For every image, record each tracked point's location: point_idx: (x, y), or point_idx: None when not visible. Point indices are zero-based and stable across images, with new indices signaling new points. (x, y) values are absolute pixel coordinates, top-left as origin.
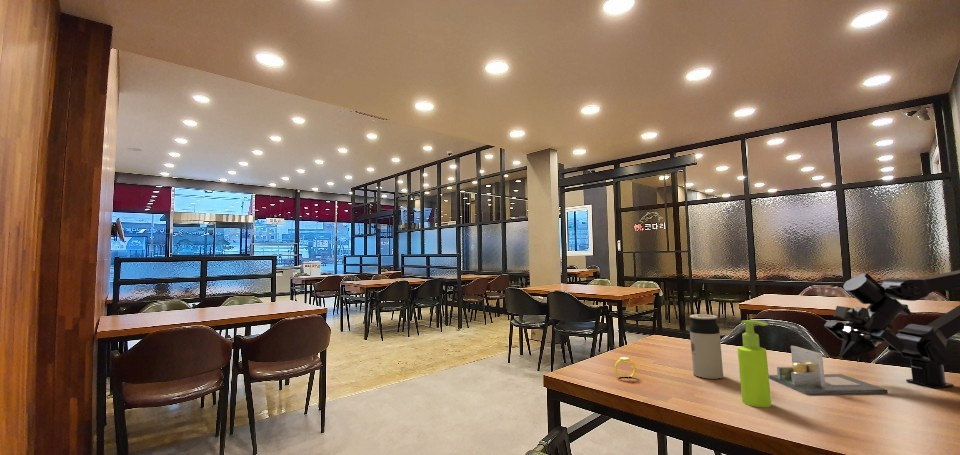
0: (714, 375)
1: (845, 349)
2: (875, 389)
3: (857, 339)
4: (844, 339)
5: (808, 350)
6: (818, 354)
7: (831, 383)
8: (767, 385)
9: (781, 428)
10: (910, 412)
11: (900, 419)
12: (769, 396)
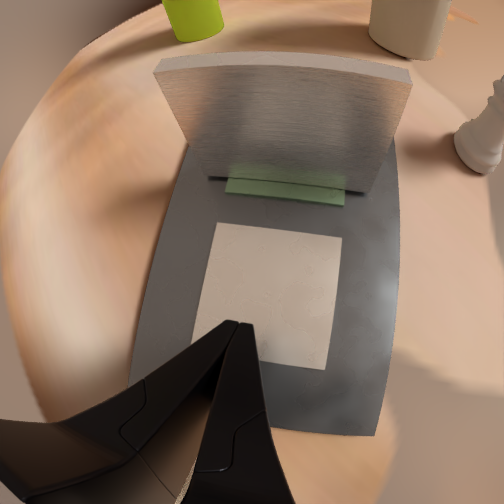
0: (369, 26)
1: (200, 366)
2: (137, 344)
3: (28, 423)
4: (253, 487)
5: (248, 57)
6: (161, 62)
7: (235, 234)
8: (164, 7)
9: (118, 36)
10: (38, 256)
11: (37, 194)
12: (171, 25)
